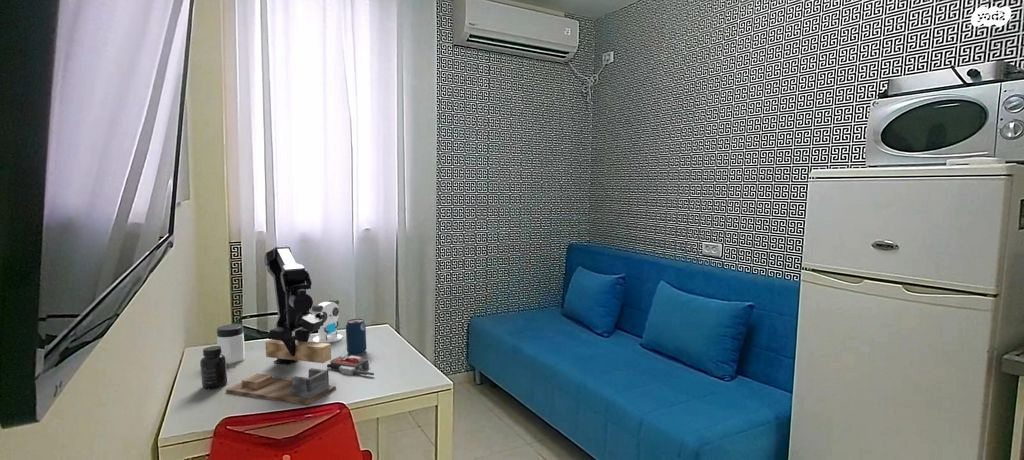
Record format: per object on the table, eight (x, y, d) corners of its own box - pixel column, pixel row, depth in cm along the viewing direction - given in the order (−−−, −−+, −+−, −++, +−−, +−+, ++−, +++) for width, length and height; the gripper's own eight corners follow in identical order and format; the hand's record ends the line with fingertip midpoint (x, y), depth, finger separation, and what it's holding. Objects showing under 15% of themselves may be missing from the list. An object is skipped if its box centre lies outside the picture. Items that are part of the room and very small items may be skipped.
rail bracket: (226, 392, 153) (224, 371, 153) (258, 378, 165) (256, 358, 164) (307, 405, 144) (306, 382, 143) (335, 389, 155) (334, 368, 154)
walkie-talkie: (322, 372, 171) (371, 379, 163) (321, 359, 170) (371, 366, 163) (340, 363, 179) (388, 370, 171) (339, 351, 178) (387, 357, 171)
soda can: (370, 351, 190) (369, 319, 189) (355, 357, 184) (354, 324, 183) (357, 348, 194) (356, 317, 193) (342, 353, 188) (341, 321, 187)
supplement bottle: (208, 382, 162) (206, 344, 161) (231, 381, 162) (229, 344, 161) (197, 390, 155) (194, 351, 154) (221, 389, 156) (218, 351, 155)
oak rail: (266, 357, 167) (265, 342, 167) (275, 353, 171) (274, 338, 171) (323, 363, 161) (322, 347, 160) (331, 359, 165) (330, 343, 164)
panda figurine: (328, 344, 199) (326, 306, 198) (305, 341, 203) (303, 304, 202) (348, 336, 210) (347, 300, 209) (326, 333, 214) (324, 298, 213)
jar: (220, 357, 185) (218, 325, 184) (245, 354, 188) (244, 322, 187) (217, 365, 177) (214, 331, 176) (243, 362, 180) (241, 328, 179)
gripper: (294, 315, 153) (297, 366, 155) (335, 301, 171) (337, 347, 172) (265, 312, 157) (268, 362, 158) (308, 299, 174) (310, 344, 176)
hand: (298, 353), depth 166 cm, fingers closed on oak rail, 4 cm apart
